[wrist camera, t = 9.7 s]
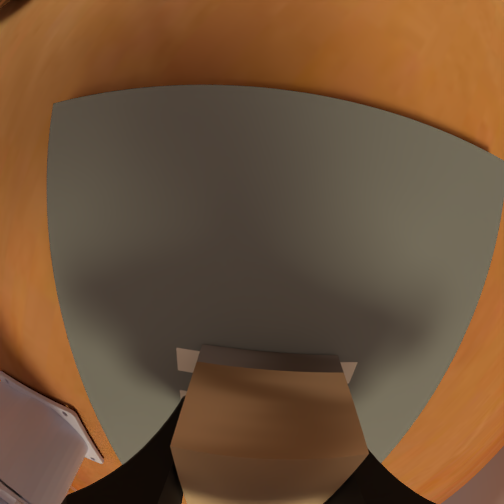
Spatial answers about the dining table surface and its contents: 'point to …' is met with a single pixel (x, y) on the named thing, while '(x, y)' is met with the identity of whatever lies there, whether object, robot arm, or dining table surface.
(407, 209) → the slate board
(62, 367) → the dining table surface
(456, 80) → the dining table surface
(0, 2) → the ceramic bowl
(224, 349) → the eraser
